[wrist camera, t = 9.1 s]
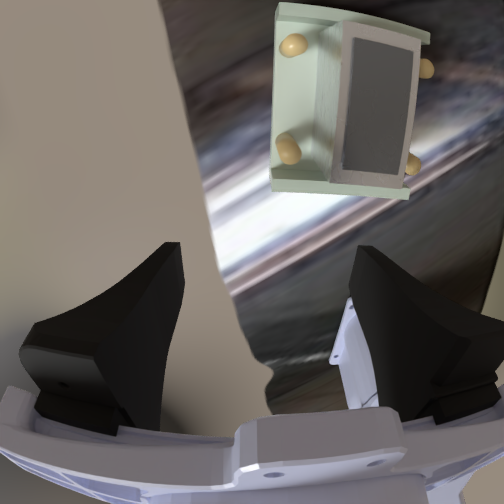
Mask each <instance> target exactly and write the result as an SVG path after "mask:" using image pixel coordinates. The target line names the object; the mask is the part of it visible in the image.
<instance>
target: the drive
mask: <svg viewBox="0 0 504 504" xmlns="http://www.w3.org/2000/svg"><path fill="white" fill-rule="evenodd" d="M420 52H421V40H420V39H417V38H414V37H411V36H408V35H404V34H401V33H397V32H394V31H390V30H386V29H382V28H378V27H374V26H370V25H365V24H361V23H356V22H351V21H345V20H342V21H340V22H338V23H336V24H334V25H333V26H331V27H329V28H327V29H325V30H323V31H322V32H320V33H318V56H317V74H316V90H315V105H314V119H313V131H312V143H311V154H310V155H311V157H312V158H313V160H314V161H315V163H316V164H317V165H318V167H319V168H320V170H321V171H322V173H323V174H324V176H325V177H326V179H327V180H328V182H329V183H335V184H348V185H361V186H372V187H382V188H392V189H402V185H403V180H404V175H405V170H406V165H407V160H408V154H409V148H410V142H411V136H412V130H413V123H414V115H415V108H416V99H417V90H418V80H419V67H420Z"/></svg>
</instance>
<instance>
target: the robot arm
mask: <svg viewBox="0 0 504 504" xmlns="http://www.w3.org/2000/svg"><path fill="white" fill-rule="evenodd" d="M184 286H185V279H184V272H183V263H182V255H181V247H180V242H165V243H164V244H162V245H161V246H160V247H159V248H158V249H157V250H156V251H155V252H154V253H152V254H151V255H150V256H149V257H148V258H147V259H146V260H145V261H144V262H143V263H141V264H140V265H139V266H138V267H137V268H135V269H134V270H133V271H132V272H131V273H129V274H128V275H127V276H126V277H124V278H123V279H122V280H121V281H119V282H118V283H116V284H115V285H114V286H112V287H111V288H109V289H108V290H106V291H105V292H103V293H101V294H100V295H98V296H96V297H94V298H93V299H91V300H89V301H87V302H86V303H84V304H82V305H80V306H78V307H76V308H74V309H72V310H69V311H67V312H65V313H62V314H60V315H57V316H55V317H52V318H49V319H46V320H43V321H40V322H37V323H35V324H34V325H33V327H32V328H31V330H30V332H29V334H28V335H27V337H26V339H25V340H24V342H23V344H22V346H21V348H20V349H19V357H20V361H21V363H22V365H23V367H24V368H25V370H26V371H27V372H28V374H29V375H30V377H31V378H32V379H33V381H34V382H35V383H36V385H37V386H38V387H39V388H40V389H41V391H40V394H39V396H38V397H37V396H35V395H34V394H32V393H30V392H28V391H24V390H21V389H19V388H16V387H13V386H8V388H7V390H6V392H5V394H4V396H3V398H2V401H1V403H0V453H2V454H3V455H5V456H6V457H7V458H8V459H10V460H11V461H13V462H14V463H16V464H17V465H18V466H20V467H21V468H23V469H24V470H26V471H28V472H31V473H33V474H35V475H37V476H40V477H42V478H44V479H47V480H49V481H51V482H54V483H56V484H59V485H61V486H64V487H66V488H69V489H72V490H74V491H77V492H79V493H82V494H85V495H88V496H91V497H93V498H97V499H99V500H103V501H106V502H109V503H112V504H466V503H465V499H464V496H463V492H462V490H463V488H464V487H465V485H466V484H467V482H468V481H469V480H470V478H471V477H472V475H473V474H474V472H475V471H476V470H478V469H480V468H482V467H484V466H486V465H488V464H490V463H492V462H493V461H495V460H497V459H499V458H501V457H503V456H504V384H503V385H501V386H500V387H498V388H497V386H496V385H495V382H496V381H497V380H498V377H497V374H496V373H495V370H497V368H498V367H499V366H500V364H501V363H502V362H503V360H504V321H501V320H498V319H495V318H491V317H488V316H485V315H482V314H480V313H477V312H475V311H472V310H470V309H467V308H465V307H463V306H461V305H459V304H457V303H455V302H453V301H451V300H449V299H447V298H445V297H443V296H442V295H440V294H438V293H437V292H435V291H433V290H432V289H430V288H429V287H427V286H426V285H424V284H423V283H421V282H420V281H418V280H417V279H416V278H414V277H413V276H411V275H410V274H409V273H407V272H406V271H405V270H403V269H402V268H401V267H400V266H398V265H397V264H396V263H394V262H393V261H392V260H391V259H389V258H388V257H387V256H385V255H384V254H383V253H382V252H380V251H379V250H377V249H376V248H374V247H373V246H363V245H358V248H357V252H356V257H355V261H354V265H353V269H352V273H351V277H350V281H349V289H350V294H351V297H350V298H349V299H348V300H347V303H346V307H345V310H344V314H343V317H342V321H341V324H340V327H339V331H338V334H337V337H336V340H335V344H334V347H333V350H332V353H331V356H330V359H329V362H330V364H333V365H334V364H339V368H340V372H341V377H342V381H343V385H344V390H345V394H346V399H347V404H348V407H349V410H340V411H330V412H317V413H302V414H279V415H272V416H264V417H258V418H255V419H253V420H250V421H248V422H245V423H243V424H242V425H241V426H240V427H239V428H238V430H237V431H236V432H235V437H233V438H231V437H211V436H197V435H184V434H174V433H166V432H160V414H161V402H162V392H163V382H164V375H165V368H166V361H167V355H168V351H169V346H170V343H171V339H172V336H173V332H174V329H175V326H176V322H177V319H178V315H179V312H180V308H181V305H182V299H183V293H184ZM351 305H353V306H351ZM350 306H351V307H350Z"/></svg>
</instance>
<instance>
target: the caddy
mask: <svg viewBox="0 0 504 504" xmlns="http://www.w3.org/2000/svg"><path fill="white" fill-rule="evenodd" d="M342 20H345V21H351V22H356V23H361V24H365V25H370V26H374V27H378V28H382V29H386V30H390V31H394V32H397V33H401V34H404V35H408V36H411V37H414V38H417V39H420V40H421V45H428V44H430V33H429V32H426V31H423V30H420V29H417V28H414V27H411V26H408V25H404V24H401V23H398V22H394V21H390V20H387V19H383V18H379V17H375V16H370V15H366V14H361V13H357V12H352V11H347V10H341V9H335V8H329V7H322V6H315V5H307V4H297V3H286V2H279V4H278V7H277V9H276V11H275V33H274V65H273V93H272V119H271V143H270V166H269V178H270V184H271V189H272V192H297V193H319V194H337V195H353V196H367V197H380V198H392V199H403V200H408V198H409V194H410V190H411V189H410V188H409V187H408V186H407V185H406V184H405V183H404V182H403V185H402V189H392V188H382V187H372V186H361V185H348V184H335V183H329V182H328V180H327V179H326V177H325V176H324V174H323V173H322V171H321V170H320V168H319V167H318V165H317V164H316V163H315V161H314V160H313V158H312V157H311V155H310V154H311V143H312V131H313V119H314V105H315V90H316V74H317V56H318V33H320V32H322V31H323V30H325V29H327V28H329V27H331V26H333V25H334V24H336V23H338V22H340V21H342ZM433 74H434V67H433V64H432V63H431V62H430V61H429V60H428V59H420V67H419V78H426V79H428V78H431V77H432V76H433ZM420 168H421V162H420V160H419V158H417V157H416V156H414V155H413V154H411V153H409V154H408V160H407V165H406V170H405V172H406V173H407V174H408V175H415V174H417V173H418V172H419V171H420Z"/></svg>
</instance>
